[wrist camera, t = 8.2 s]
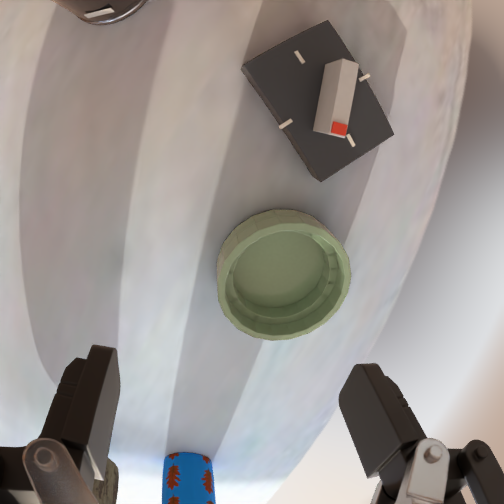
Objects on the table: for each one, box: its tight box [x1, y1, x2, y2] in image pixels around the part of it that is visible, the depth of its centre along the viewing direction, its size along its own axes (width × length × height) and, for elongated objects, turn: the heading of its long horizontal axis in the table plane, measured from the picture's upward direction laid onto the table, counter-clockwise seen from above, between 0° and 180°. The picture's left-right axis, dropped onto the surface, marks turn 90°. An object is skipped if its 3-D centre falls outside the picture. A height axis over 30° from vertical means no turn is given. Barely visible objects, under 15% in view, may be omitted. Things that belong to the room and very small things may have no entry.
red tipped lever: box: [313, 59, 359, 138], centre depth 25 cm, size 7×2×5 cm, turn 170°
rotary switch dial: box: [241, 20, 394, 182], centre depth 29 cm, size 14×11×3 cm
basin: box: [217, 210, 351, 341], centre depth 36 cm, size 15×15×5 cm
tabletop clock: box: [92, 458, 119, 504], centre depth 39 cm, size 14×9×25 cm, turn 19°
